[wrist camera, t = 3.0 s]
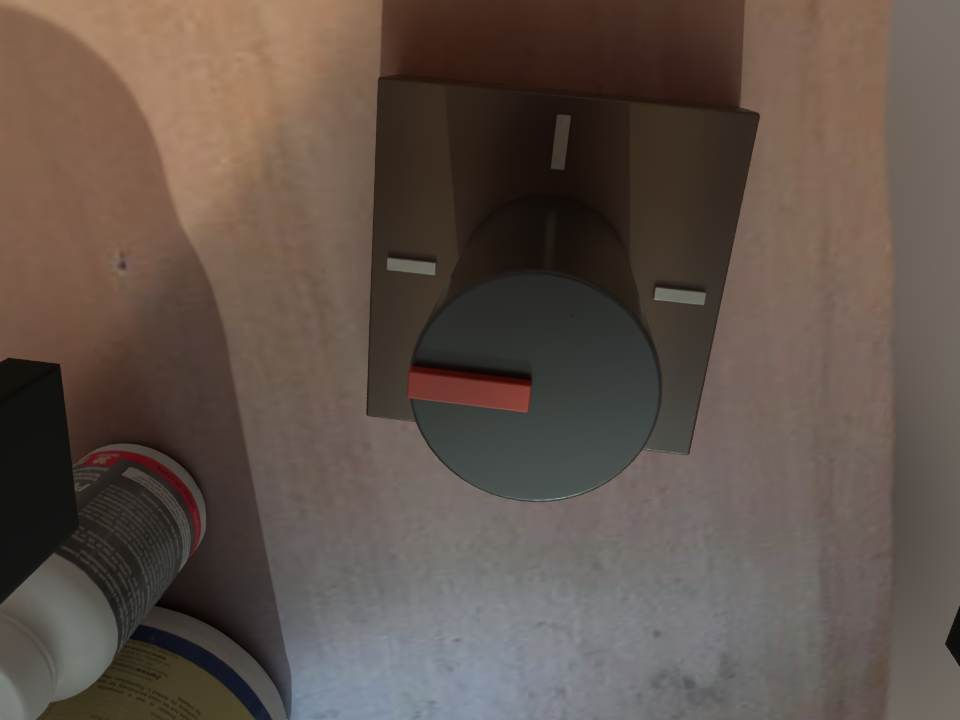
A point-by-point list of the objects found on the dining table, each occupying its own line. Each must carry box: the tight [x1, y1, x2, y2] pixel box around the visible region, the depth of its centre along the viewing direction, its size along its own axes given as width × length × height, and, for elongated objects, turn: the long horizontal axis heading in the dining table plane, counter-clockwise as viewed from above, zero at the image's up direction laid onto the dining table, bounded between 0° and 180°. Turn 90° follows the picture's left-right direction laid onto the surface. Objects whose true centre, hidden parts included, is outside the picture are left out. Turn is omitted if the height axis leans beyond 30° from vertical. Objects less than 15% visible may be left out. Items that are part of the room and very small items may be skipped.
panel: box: [366, 75, 760, 455], centre depth 23 cm, size 10×10×3 cm
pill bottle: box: [0, 443, 206, 720], centre depth 25 cm, size 5×5×10 cm
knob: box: [407, 195, 663, 502], centre depth 18 cm, size 5×5×8 cm
